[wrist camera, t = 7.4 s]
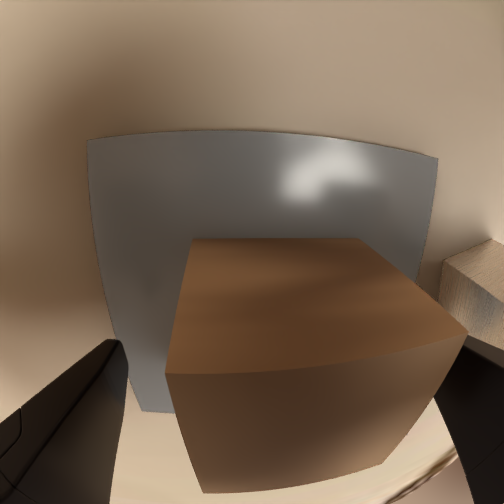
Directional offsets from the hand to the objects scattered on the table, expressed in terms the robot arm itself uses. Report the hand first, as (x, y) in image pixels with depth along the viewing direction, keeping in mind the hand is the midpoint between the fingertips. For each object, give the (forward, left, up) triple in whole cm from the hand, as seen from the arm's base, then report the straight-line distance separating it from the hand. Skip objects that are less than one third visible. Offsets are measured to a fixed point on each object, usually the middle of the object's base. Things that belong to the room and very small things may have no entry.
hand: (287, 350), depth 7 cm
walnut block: (0, 0, -2) cm, 2 cm away
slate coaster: (0, 0, -2) cm, 2 cm away
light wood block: (-10, 0, -3) cm, 10 cm away
